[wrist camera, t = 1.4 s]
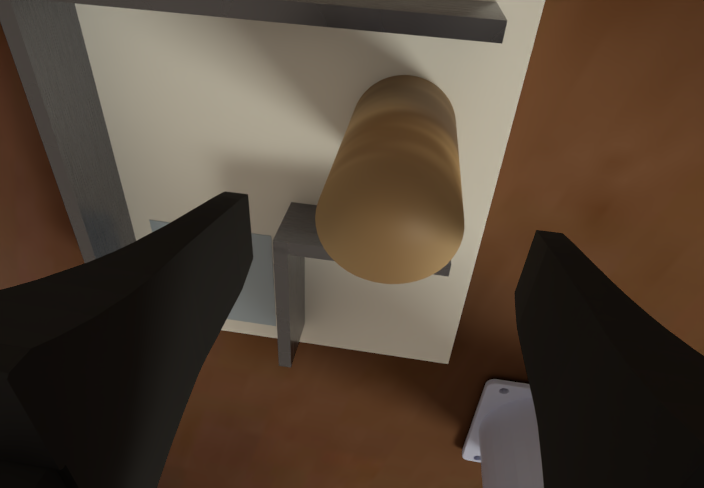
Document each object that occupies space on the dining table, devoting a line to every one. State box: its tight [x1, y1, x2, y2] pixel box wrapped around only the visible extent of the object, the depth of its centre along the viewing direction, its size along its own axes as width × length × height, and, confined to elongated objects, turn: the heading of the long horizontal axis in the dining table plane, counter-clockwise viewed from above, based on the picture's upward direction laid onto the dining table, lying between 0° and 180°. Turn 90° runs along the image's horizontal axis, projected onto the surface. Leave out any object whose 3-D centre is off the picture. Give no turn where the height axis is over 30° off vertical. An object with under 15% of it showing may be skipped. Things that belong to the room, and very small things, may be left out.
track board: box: [75, 0, 545, 364], centre depth 21 cm, size 18×18×1 cm
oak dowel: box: [315, 75, 464, 284], centre depth 16 cm, size 4×4×7 cm
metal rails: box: [0, 0, 507, 367], centre depth 20 cm, size 16×16×3 cm
